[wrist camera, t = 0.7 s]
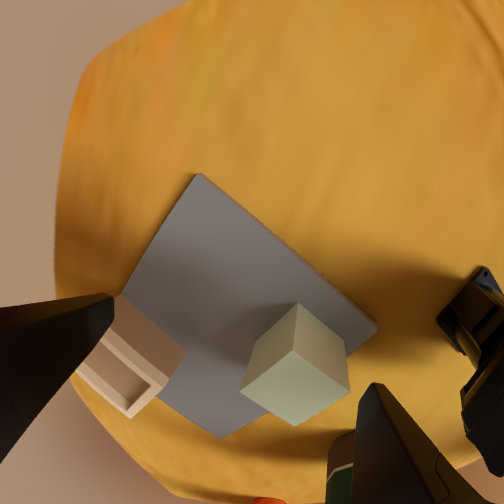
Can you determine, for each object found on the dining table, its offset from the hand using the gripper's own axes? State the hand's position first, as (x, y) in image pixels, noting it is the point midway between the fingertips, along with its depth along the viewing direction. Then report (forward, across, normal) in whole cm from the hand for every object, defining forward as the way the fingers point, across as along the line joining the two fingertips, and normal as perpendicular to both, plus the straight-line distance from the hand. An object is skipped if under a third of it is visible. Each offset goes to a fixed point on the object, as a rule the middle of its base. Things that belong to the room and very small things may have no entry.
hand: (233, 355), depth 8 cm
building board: (+13, +4, +10) cm, 17 cm away
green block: (+12, -4, +7) cm, 15 cm away
